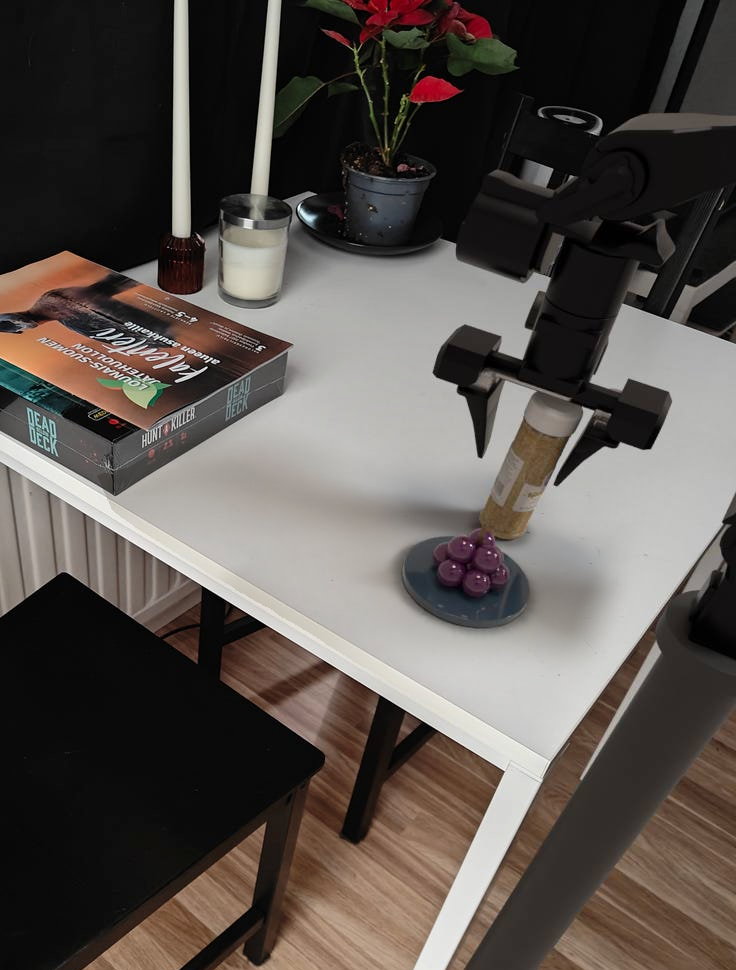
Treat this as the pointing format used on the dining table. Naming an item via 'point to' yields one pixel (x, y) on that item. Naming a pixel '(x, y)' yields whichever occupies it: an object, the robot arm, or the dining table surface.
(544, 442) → the sprinkles bottle
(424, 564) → the grapes
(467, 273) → the dining table surface
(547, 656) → the dining table surface
